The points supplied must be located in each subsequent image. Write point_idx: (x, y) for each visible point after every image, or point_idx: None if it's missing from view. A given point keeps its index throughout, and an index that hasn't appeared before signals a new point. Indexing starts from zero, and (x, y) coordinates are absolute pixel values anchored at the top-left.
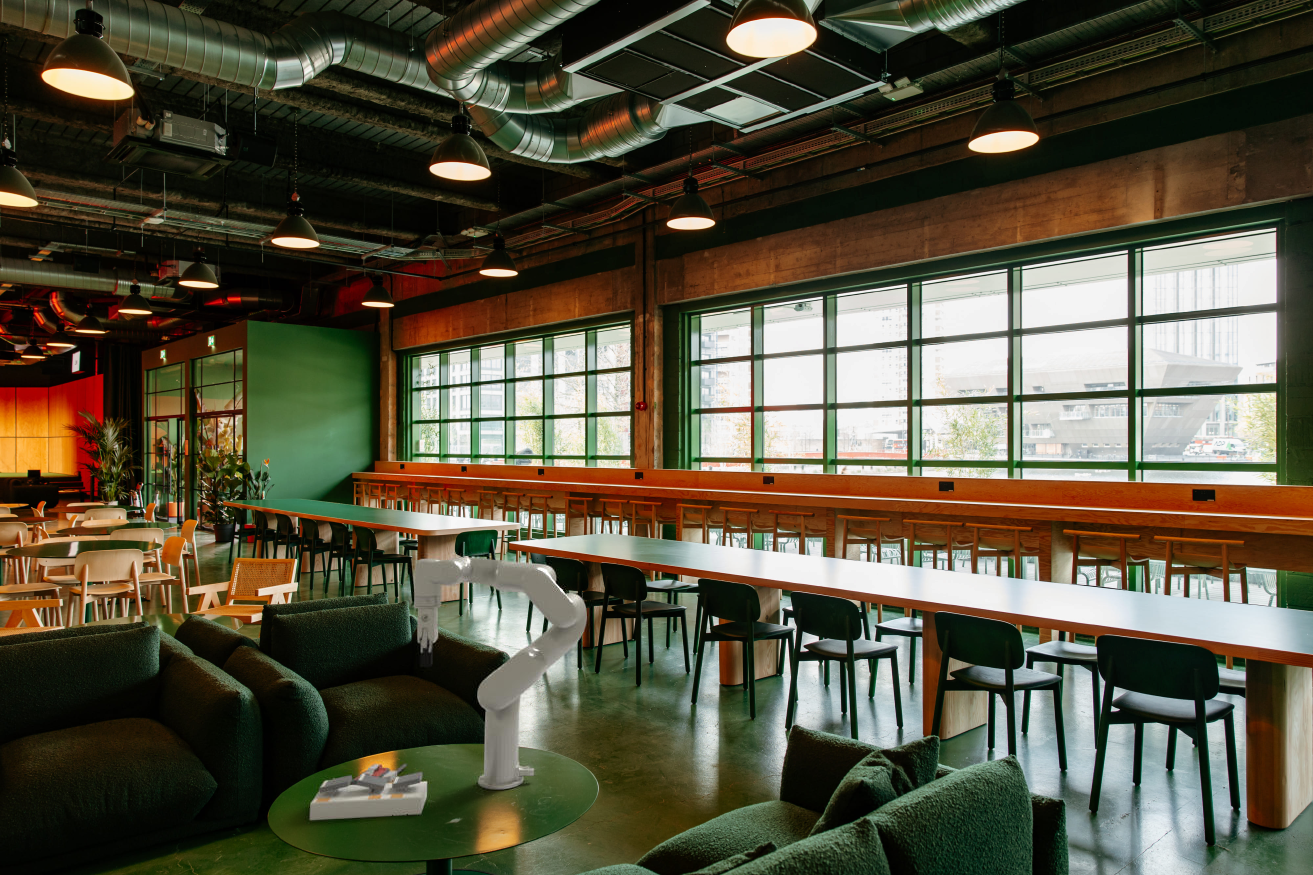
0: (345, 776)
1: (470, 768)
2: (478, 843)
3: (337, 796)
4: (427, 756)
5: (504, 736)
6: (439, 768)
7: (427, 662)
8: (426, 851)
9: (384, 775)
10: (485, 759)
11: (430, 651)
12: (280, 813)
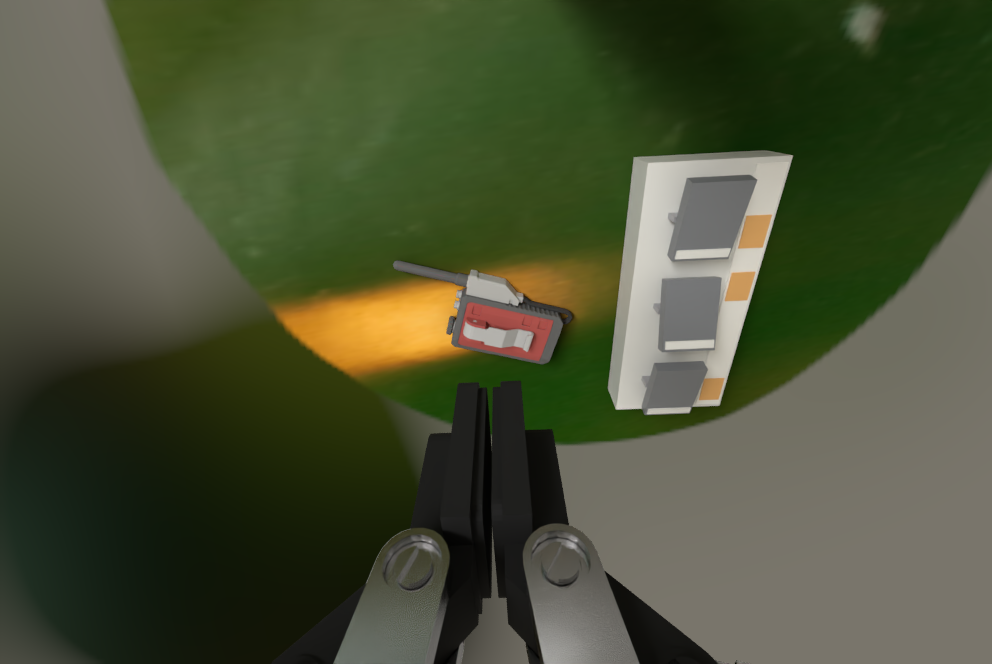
0: (654, 381)
1: (392, 36)
2: None
3: None
4: (288, 216)
5: None
6: (396, 157)
7: (552, 440)
8: None
9: (501, 300)
10: None
11: (591, 547)
12: (650, 435)
